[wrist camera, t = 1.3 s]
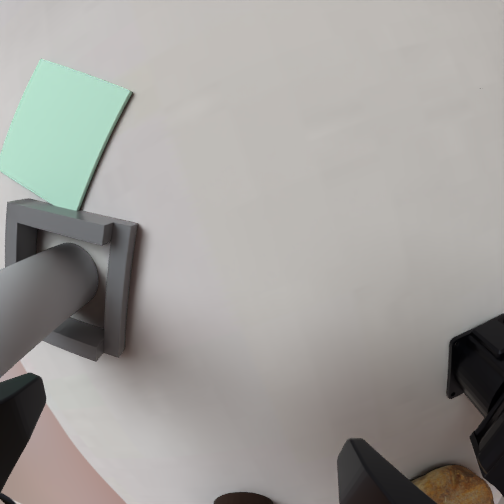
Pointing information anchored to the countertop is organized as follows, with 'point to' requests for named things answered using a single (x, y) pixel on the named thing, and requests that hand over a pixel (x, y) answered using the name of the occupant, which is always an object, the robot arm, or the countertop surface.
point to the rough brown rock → (455, 486)
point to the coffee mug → (242, 498)
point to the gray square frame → (90, 230)
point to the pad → (61, 132)
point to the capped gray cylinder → (42, 297)
